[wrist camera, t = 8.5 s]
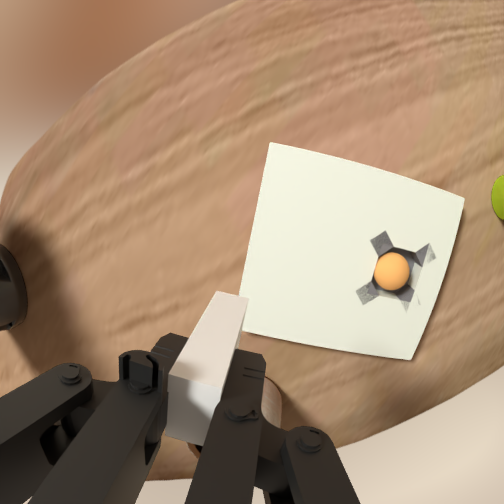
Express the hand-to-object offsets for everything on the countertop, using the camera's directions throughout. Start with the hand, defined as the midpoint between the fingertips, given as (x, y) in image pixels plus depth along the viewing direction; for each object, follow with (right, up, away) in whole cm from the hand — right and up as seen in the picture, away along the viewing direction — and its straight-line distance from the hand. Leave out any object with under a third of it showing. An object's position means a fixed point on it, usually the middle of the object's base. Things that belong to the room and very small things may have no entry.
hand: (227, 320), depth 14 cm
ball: (+16, +1, +16) cm, 23 cm away
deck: (+12, +3, +19) cm, 22 cm away
